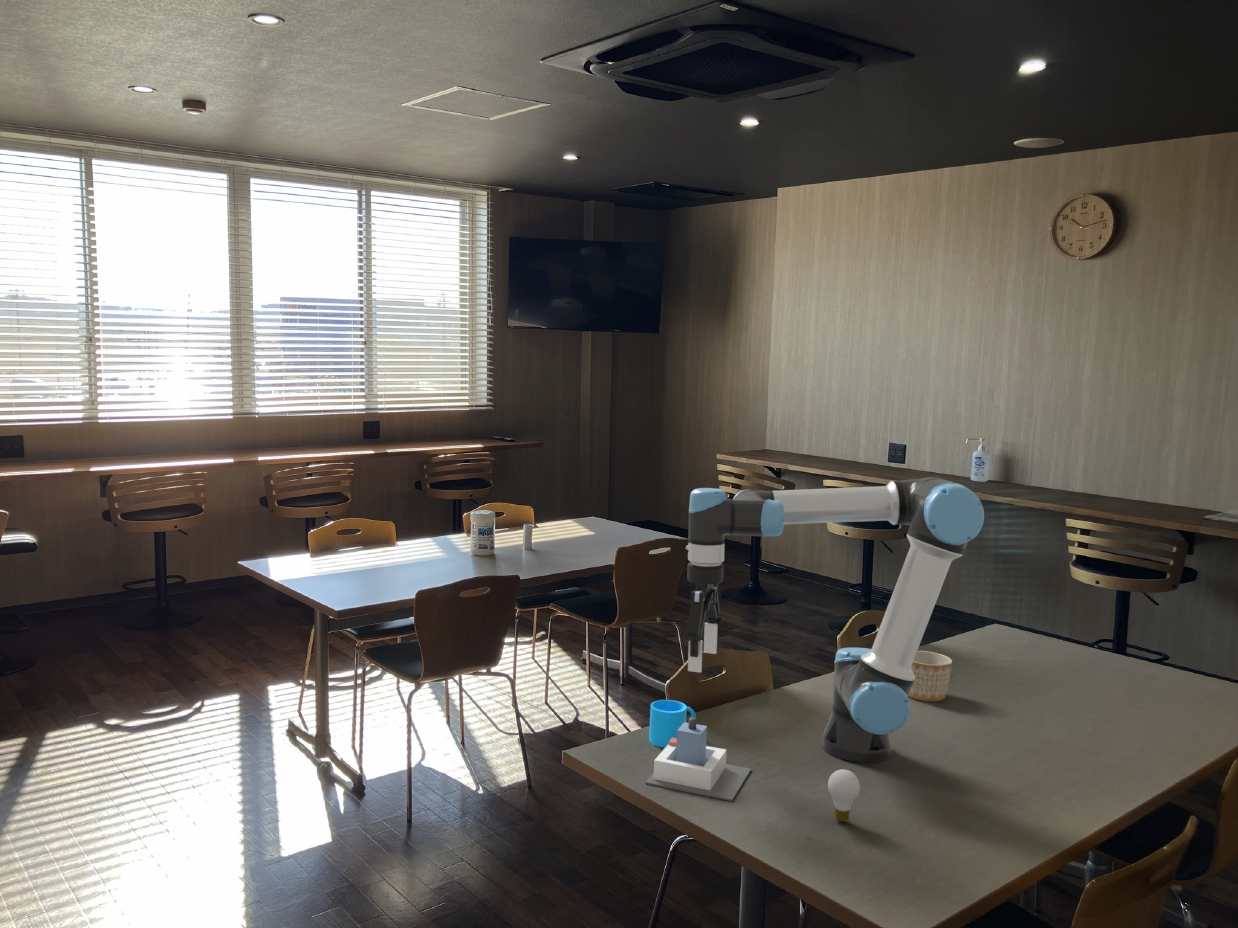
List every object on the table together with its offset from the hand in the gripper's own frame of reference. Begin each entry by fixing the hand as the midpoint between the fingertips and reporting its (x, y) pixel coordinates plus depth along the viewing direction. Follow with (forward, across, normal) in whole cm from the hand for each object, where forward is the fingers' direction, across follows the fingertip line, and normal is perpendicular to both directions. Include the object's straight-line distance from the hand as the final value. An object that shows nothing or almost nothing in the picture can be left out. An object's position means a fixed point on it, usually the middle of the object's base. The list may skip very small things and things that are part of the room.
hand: (702, 661), depth 201 cm
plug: (+20, +6, -1) cm, 21 cm away
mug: (+23, -12, -9) cm, 27 cm away
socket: (+23, +6, +1) cm, 23 cm away
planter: (+24, -69, +44) cm, 85 cm away
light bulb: (+23, +14, +31) cm, 41 cm away
